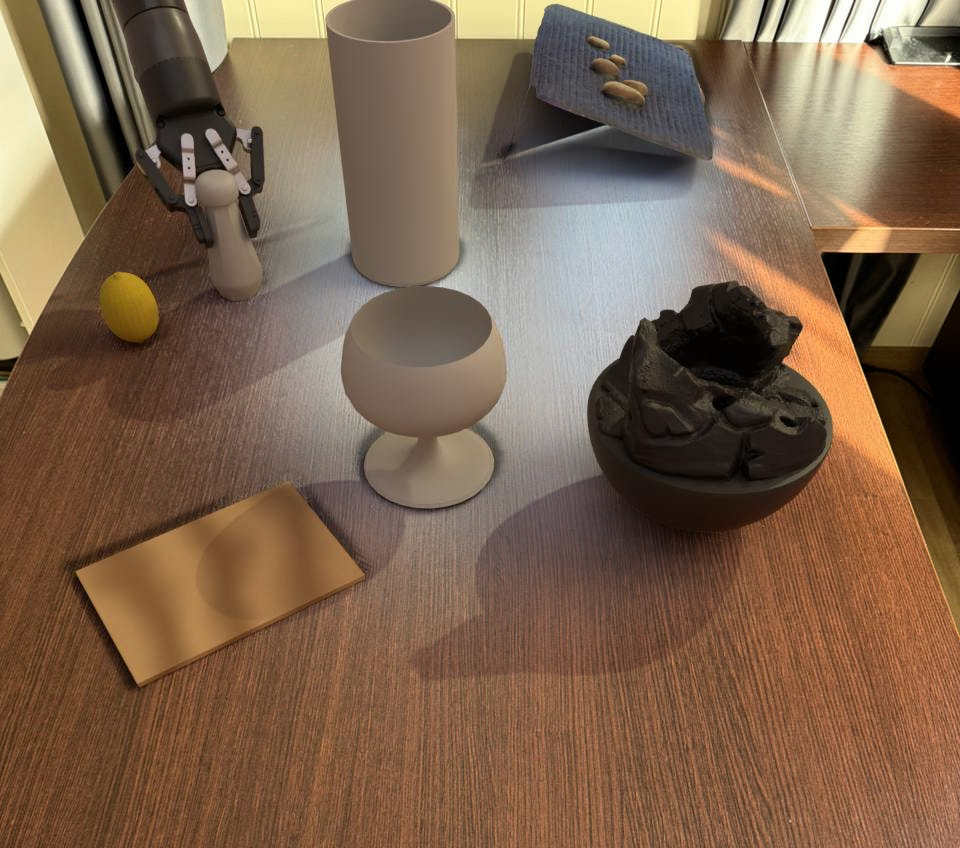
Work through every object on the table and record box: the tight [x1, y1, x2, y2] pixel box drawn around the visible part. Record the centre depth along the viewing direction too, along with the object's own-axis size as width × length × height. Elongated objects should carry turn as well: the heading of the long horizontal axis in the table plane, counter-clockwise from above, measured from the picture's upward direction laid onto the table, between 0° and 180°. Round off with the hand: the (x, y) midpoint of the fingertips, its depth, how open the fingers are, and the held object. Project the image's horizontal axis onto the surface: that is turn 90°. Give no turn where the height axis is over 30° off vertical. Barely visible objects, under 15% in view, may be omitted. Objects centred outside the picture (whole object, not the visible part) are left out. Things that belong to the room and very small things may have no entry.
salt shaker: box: [195, 170, 263, 302], centre depth 100 cm, size 6×6×13 cm
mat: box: [502, 3, 714, 163], centre depth 134 cm, size 45×27×12 cm, turn 176°
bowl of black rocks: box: [586, 280, 834, 533], centre depth 77 cm, size 20×20×19 cm
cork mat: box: [75, 480, 366, 688], centre depth 78 cm, size 20×14×1 cm
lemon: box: [98, 271, 160, 344], centre depth 96 cm, size 6×6×8 cm
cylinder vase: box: [324, 0, 460, 288], centre depth 99 cm, size 12×12×25 cm
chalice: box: [340, 285, 508, 509], centre depth 81 cm, size 14×14×15 cm
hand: (232, 239), depth 98 cm, fingers open, 4 cm apart
